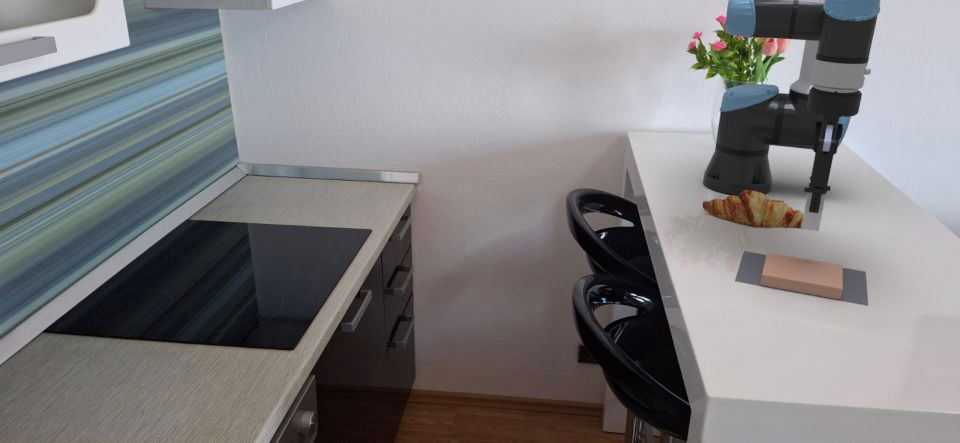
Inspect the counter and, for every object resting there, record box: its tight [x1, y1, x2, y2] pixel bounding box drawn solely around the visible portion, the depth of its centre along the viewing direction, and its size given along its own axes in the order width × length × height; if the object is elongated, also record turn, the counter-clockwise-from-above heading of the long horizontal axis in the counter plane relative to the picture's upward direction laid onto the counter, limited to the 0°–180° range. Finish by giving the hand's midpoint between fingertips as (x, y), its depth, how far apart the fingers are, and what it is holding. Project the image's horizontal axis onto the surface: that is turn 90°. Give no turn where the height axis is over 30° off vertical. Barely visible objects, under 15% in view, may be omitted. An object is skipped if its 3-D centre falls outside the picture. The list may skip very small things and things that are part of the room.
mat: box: [734, 250, 869, 307], centre depth 126 cm, size 14×20×1 cm
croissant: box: [702, 190, 804, 229], centre depth 151 cm, size 21×10×8 cm, turn 68°
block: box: [760, 252, 844, 301], centre depth 124 cm, size 2×12×10 cm
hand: (810, 228), depth 125 cm, fingers closed
